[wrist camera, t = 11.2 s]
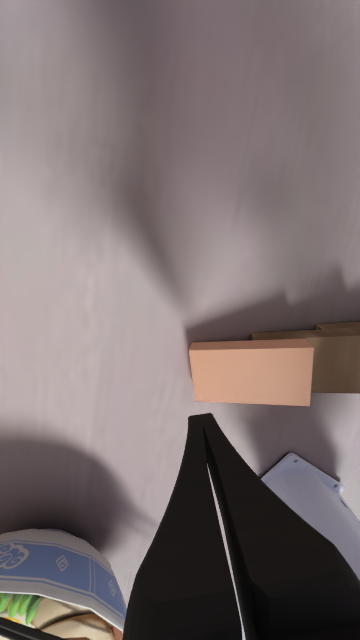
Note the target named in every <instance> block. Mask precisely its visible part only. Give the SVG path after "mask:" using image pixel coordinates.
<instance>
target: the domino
mask: <svg viewBox="0 0 360 640" xmlns="http://www.w3.org/2000/svg"><path fill="white" fill-rule="evenodd" d="M251 336H252V340H281V339H306V340H307V341H308V342H309V343H310V344H311V345H312V346H313V347H314V353H313V368H312V382H311V392H319V393H360V328H342V329H321V330H300V331H279V332H258V333H251Z"/></svg>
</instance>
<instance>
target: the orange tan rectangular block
mask: <svg viewBox="0 0 360 640" xmlns="http://www.w3.org/2000/svg"><path fill="white" fill-rule="evenodd" d="M313 353H314V347H313V346H312V345H311V344H310V343H309V342H308V341H307V340H306V339H281V340H250V341H220V342H192V343H191V346H190V348H189V356H190V364H191V371H192V379H193V386H194V394H195V401H204V402H226V403H248V404H269V405H291V406H310V397H311V382H312V368H313Z"/></svg>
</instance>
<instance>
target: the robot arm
mask: <svg viewBox="0 0 360 640" xmlns="http://www.w3.org/2000/svg"><path fill="white" fill-rule="evenodd" d="M207 464H208V467H207ZM208 468H209V471H210V475H211V479H212V482H213V486H214V490H215V494H216V497H217V501H218V505H219V508H220V512H221V516H222V521H223V525H224V530H225V535H226V540H227V545H228V550H229V555H230V560H231V565H232V570H233V576H234V581H235V586H236V591H237V596H238V601H239V606H240V612H241V617H242V622H243V627H244V632H245V638H246V640H360V521H359V520H358V518H357V517H356V516H355V514H354V513H353V512H352V510H351V509H350V508H349V506H348V505H347V504H346V502H345V501H344V500H343V498H342V497H341V496H340V493H341V492H342V491H343V490H344V486H343V485H342V484H341V483H340V482H338V481H336V480H335V479H333V478H332V477H330V476H329V475H327V474H325V473H324V472H322V471H321V470H319V469H318V468H316V467H315V466H313V465H311V464H310V463H308V462H307V461H305V460H304V459H302V458H300V457H299V456H297V455H296V454H294V453H289V454H287V455H286V456H285V457H284V458H283V459H282V460H281V461H280V462H279V463H277V464H276V465H275V466H274V467H273V468H272V469H271V470H270V471H269V472H268V473H266V474H265V475H264V476H263V477H262V478H261V479H260V478H259V477H258V476H257V475H256V473H255V472H254V471H253V470H252V469H251V468H250V467H249V466H248V465H247V463H246V462H245V461H244V460H243V459H242V457H241V456H240V455H239V454H238V452H237V451H236V450H235V448H234V447H233V446H232V444H231V443H230V442H229V440H228V439H227V438H226V436H225V435H224V433H223V432H222V430H221V429H220V427H219V425H218V424H217V422H216V420H215V418H214V416H213V414H211V413H207V414H200V415H193V416H189V417H188V433H187V440H186V445H185V451H184V455H183V459H182V463H181V467H180V471H179V474H178V477H177V481H176V484H175V487H174V490H173V493H172V495H171V498H170V501H169V504H168V506H167V509H166V511H165V514H164V516H163V519H162V521H161V523H160V525H159V528H158V530H157V532H156V535H155V537H154V539H153V541H152V544H151V546H150V548H149V550H148V552H147V554H146V556H145V558H144V560H143V562H142V564H141V566H140V568H139V570H138V572H137V574H136V577H135V581H134V584H133V588H132V591H131V595H130V599H129V603H128V607H127V612H126V617H125V623H124V629H123V637H122V640H242V628H241V621H240V616H239V611H238V606H237V601H236V596H235V591H234V586H233V582H232V578H231V573H230V569H229V565H228V560H227V556H226V551H225V547H224V543H223V538H222V534H221V529H220V524H219V520H218V515H217V511H216V506H215V501H214V497H213V492H212V487H211V482H210V478H209V473H208Z"/></svg>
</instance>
